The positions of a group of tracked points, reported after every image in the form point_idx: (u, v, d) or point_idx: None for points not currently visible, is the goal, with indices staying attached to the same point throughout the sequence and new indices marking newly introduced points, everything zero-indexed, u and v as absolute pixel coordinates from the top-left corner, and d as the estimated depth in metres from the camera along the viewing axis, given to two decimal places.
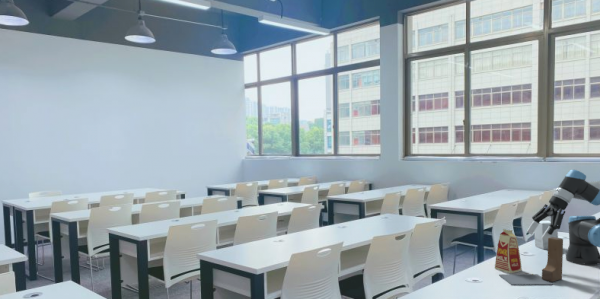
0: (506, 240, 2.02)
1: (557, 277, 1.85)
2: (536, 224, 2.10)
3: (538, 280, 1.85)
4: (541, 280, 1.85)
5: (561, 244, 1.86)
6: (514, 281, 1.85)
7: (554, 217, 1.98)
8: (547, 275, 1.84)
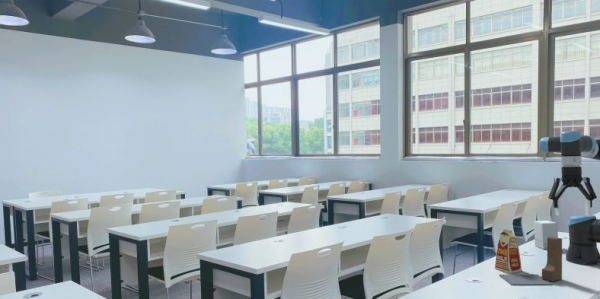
0: (506, 240, 2.02)
1: (557, 277, 1.85)
2: None
3: (538, 280, 1.85)
4: (541, 280, 1.85)
5: (560, 244, 1.87)
6: (514, 281, 1.85)
7: None
8: (547, 275, 1.84)
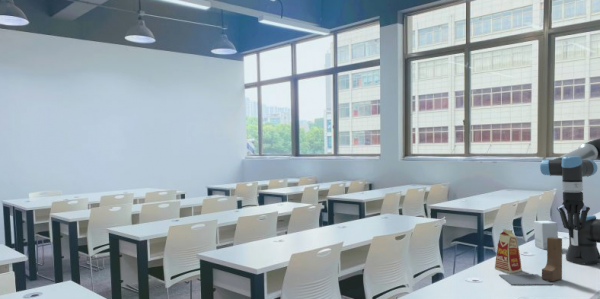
0: (506, 240, 2.02)
1: (557, 277, 1.85)
2: None
3: (538, 280, 1.85)
4: (541, 280, 1.85)
5: (560, 244, 1.87)
6: (514, 281, 1.85)
7: None
8: (547, 275, 1.84)
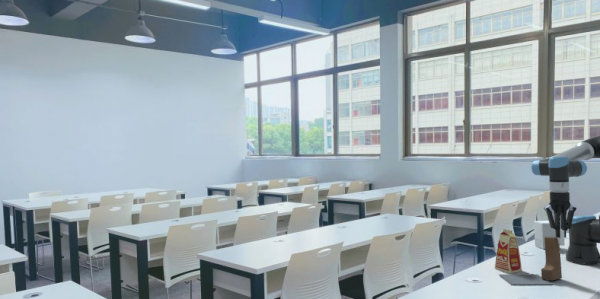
0: (506, 240, 2.02)
1: (557, 276, 1.85)
2: None
3: (538, 280, 1.85)
4: (541, 280, 1.85)
5: (557, 243, 1.88)
6: (514, 281, 1.85)
7: None
8: (546, 274, 1.84)
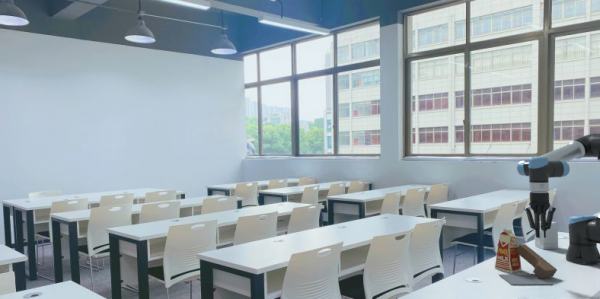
0: (506, 240, 2.02)
1: (549, 268, 1.88)
2: None
3: (538, 280, 1.85)
4: (541, 280, 1.85)
5: (526, 247, 2.00)
6: (514, 281, 1.85)
7: None
8: (538, 270, 1.87)
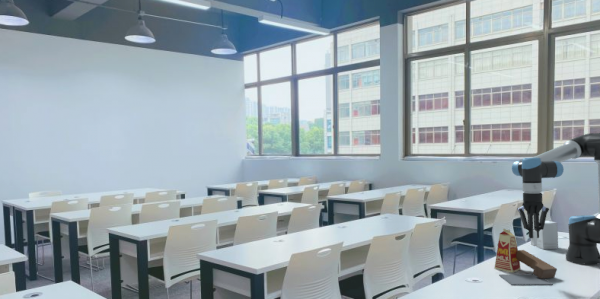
0: (506, 240, 2.03)
1: (548, 267, 1.88)
2: None
3: (538, 280, 1.85)
4: (541, 280, 1.85)
5: (525, 252, 2.02)
6: (514, 281, 1.85)
7: None
8: (537, 271, 1.88)
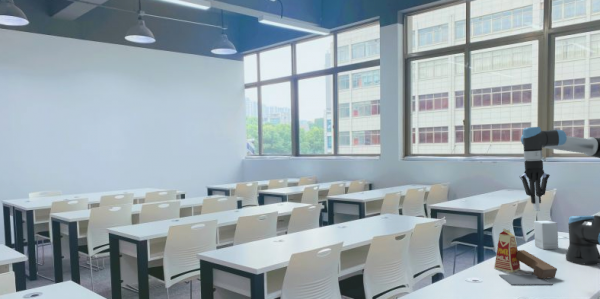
0: (506, 240, 2.03)
1: (548, 267, 1.88)
2: None
3: (538, 280, 1.85)
4: (541, 280, 1.85)
5: (525, 252, 2.02)
6: (514, 281, 1.85)
7: None
8: (537, 271, 1.88)
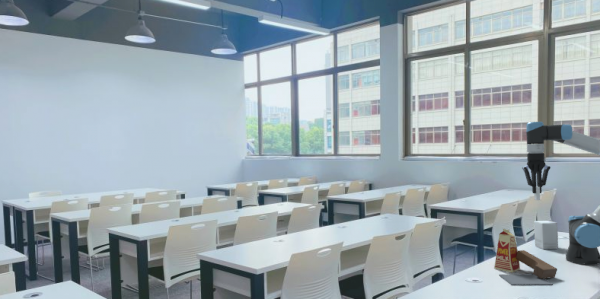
0: (506, 239, 2.03)
1: (548, 267, 1.88)
2: None
3: (538, 280, 1.85)
4: (541, 280, 1.85)
5: (525, 252, 2.02)
6: (514, 281, 1.85)
7: None
8: (538, 271, 1.88)
